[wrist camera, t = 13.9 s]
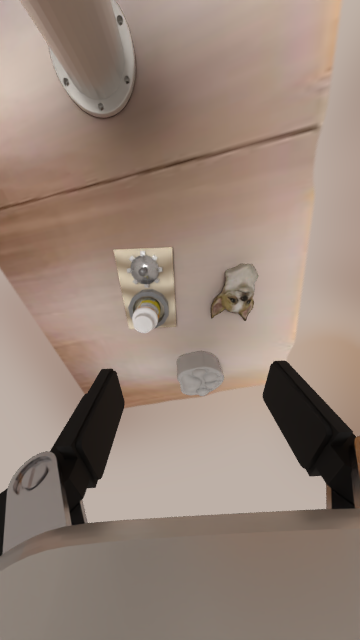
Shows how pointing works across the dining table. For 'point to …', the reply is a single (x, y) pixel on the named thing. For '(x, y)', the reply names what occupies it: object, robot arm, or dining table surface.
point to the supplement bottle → (146, 315)
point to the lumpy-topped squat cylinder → (199, 373)
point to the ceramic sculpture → (237, 291)
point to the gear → (144, 269)
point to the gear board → (162, 286)
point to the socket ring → (156, 295)
